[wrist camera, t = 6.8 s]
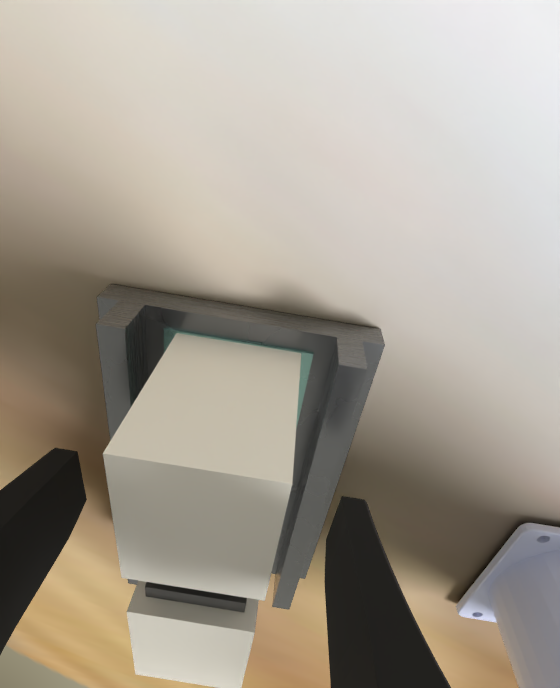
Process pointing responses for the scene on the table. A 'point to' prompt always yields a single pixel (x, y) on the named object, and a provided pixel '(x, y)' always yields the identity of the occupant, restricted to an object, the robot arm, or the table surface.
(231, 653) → the white and grey block
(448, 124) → the table surface
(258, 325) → the sliding window
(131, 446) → the white cardboard box
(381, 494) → the table surface
